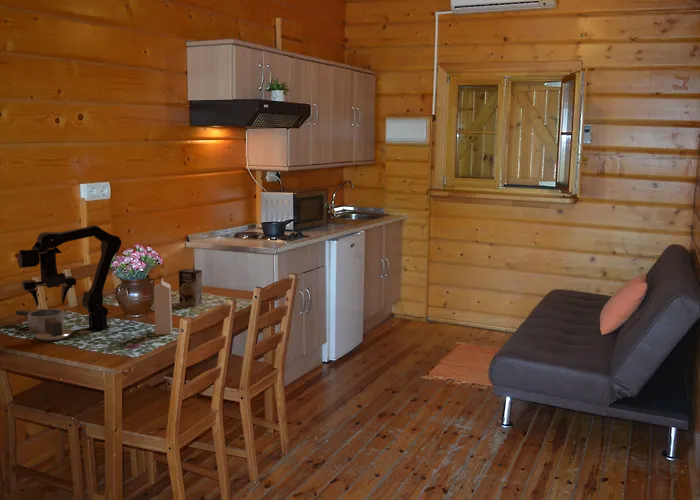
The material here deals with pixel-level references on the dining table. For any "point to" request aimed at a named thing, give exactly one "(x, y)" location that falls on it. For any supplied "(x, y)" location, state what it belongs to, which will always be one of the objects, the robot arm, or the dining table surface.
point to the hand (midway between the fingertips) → (50, 304)
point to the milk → (163, 308)
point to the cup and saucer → (53, 331)
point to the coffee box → (190, 287)
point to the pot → (41, 317)
